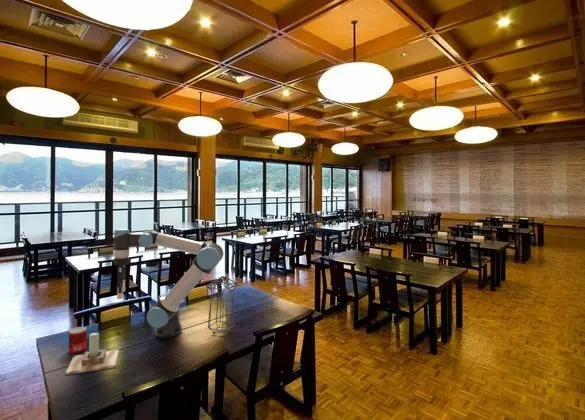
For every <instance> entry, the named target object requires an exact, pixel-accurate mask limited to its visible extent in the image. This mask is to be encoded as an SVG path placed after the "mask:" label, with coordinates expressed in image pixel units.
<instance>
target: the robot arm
mask: <svg viewBox="0 0 585 420" xmlns="http://www.w3.org/2000/svg"><path fill="white" fill-rule="evenodd" d="M152 245H154V246H158V247H162V248H167V249H172V250H175V251H180V252H184V253H188V254H193V255H196V256H195V257H194V258H193V260H192V265H191V266H190V268H188V269H187V271H186V272H185V273H184V275H182V277H181V278H180V279H179V280H178V281H177V283H176V284H174V286H173V287H172V288H171V289H170V291H168V293H165V294H160V295H159V296H158V298H157V302H156V303H155V304H154V305H153V306H152V307H151V308H150V309H149V310H148V311H147V314H146V320H147V321H146V322H147V323H148V324H149V326H151V327H153V328H154V335H155V336H156V337H158V338H162V339H163V338H164V339H167V337H169V338H173V337H172V336H174V337H176V336H175V335H177V336H178V334H179V333H180V334H181V333H182V332H181V331H183V329H182V328H183V326H182V324H181V321H180V304H181V302H183V301H184V299H185V298H186V297H187V296H188V295H189V293H191V291H192V290H193V289H194V288H195V286H197V284H198V283H199V282H200V281H201V280H202V279H203V277H204V276H206V275H209V274H210V273H211V272H213V270H214V269H215V268H216V267H217V266H218V265H219V263H220V262H221V261H222V260H223V257H224V250H223V248H222V246H221V245H220V244H217V243H213V242H209V241H196V240H193V239H187V238H184V237H178V236H176V235H170V234H168V233H167V234H166V233H163V232H157V230H155V229H149V230H146V231H142V232H130V229H128V228H117V229H115V230H114V233H113V251H112V253H113V257H114V258H113V265H114V266H118V267H117V269H116V270H117V271H116V272H117V275H116V276H117V278H116V280H117V281H116V285H115V288H116V289H117V290H116V294H117V295H116V299H117V300H121V299H122V300H123V299H124V292H126V280H127V277H126V269H127V268H126V265H129V263H130V257H129V256H130V248H131V247H134V248H135V247H136V248H138V247H139V248H150V247H151V246H152ZM180 334H179V335H180Z"/></svg>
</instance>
